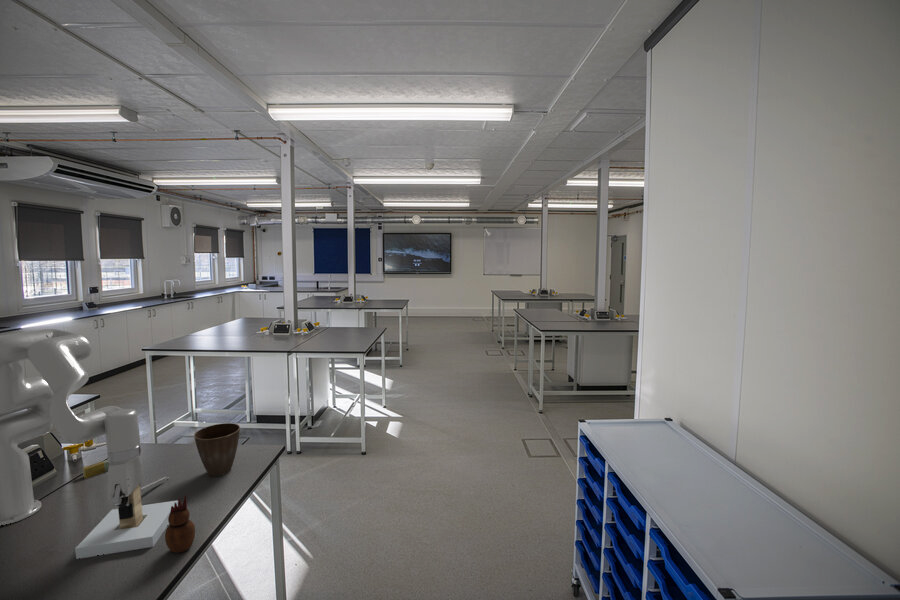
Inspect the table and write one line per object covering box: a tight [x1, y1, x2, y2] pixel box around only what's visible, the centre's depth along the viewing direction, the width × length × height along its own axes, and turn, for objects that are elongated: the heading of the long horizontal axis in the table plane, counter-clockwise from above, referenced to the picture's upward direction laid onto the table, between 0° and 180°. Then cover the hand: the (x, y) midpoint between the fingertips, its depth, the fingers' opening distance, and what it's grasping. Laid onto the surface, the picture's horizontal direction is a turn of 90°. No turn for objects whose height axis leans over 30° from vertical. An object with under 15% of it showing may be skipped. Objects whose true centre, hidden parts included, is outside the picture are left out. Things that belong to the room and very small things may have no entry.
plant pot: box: [193, 422, 241, 477], centre depth 155 cm, size 15×15×16 cm
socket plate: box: [74, 499, 178, 560], centre depth 121 cm, size 18×18×3 cm
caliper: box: [140, 476, 169, 494], centre depth 141 cm, size 20×1×6 cm, turn 178°
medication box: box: [82, 459, 110, 480], centre depth 157 cm, size 12×3×4 cm, turn 145°
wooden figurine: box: [164, 494, 196, 554], centre depth 113 cm, size 7×6×15 cm
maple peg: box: [118, 483, 143, 529], centre depth 120 cm, size 4×4×12 cm
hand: (130, 512), depth 120 cm, fingers closed on maple peg, 4 cm apart
